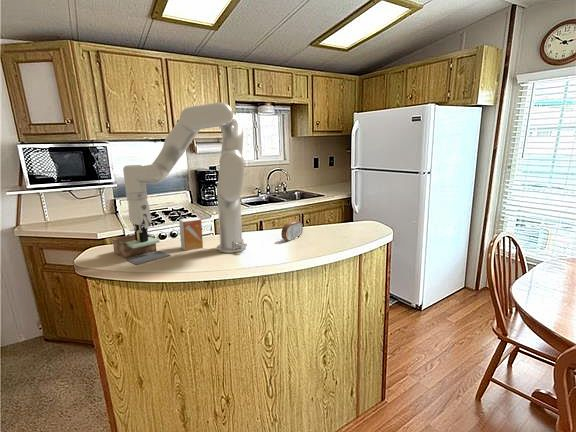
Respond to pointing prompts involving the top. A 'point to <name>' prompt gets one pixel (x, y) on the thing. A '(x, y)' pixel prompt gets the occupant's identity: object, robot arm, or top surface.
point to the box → (127, 251)
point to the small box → (191, 233)
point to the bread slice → (292, 230)
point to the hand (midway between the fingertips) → (141, 240)
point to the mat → (147, 257)
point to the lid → (137, 244)
